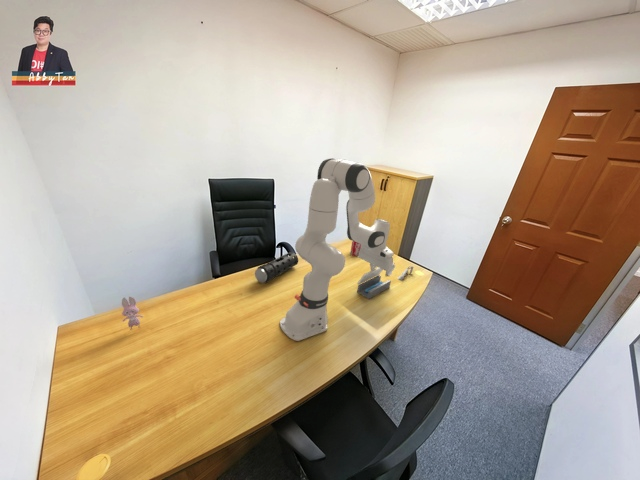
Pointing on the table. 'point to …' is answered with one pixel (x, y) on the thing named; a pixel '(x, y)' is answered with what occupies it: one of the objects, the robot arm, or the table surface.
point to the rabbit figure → (131, 311)
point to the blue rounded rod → (373, 286)
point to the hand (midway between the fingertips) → (372, 271)
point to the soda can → (355, 248)
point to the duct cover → (370, 275)
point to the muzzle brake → (275, 267)
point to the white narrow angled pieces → (402, 273)
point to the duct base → (375, 290)
